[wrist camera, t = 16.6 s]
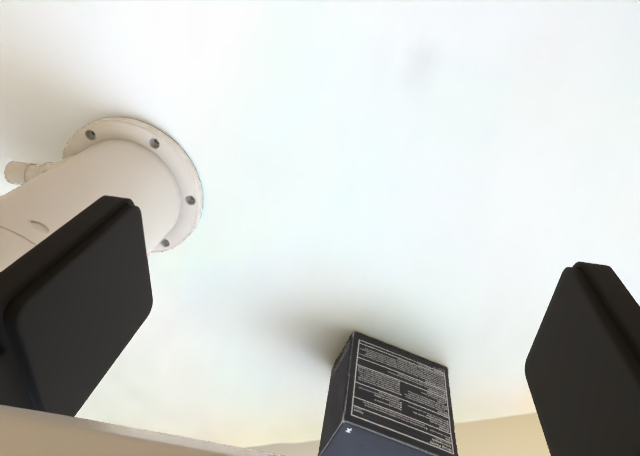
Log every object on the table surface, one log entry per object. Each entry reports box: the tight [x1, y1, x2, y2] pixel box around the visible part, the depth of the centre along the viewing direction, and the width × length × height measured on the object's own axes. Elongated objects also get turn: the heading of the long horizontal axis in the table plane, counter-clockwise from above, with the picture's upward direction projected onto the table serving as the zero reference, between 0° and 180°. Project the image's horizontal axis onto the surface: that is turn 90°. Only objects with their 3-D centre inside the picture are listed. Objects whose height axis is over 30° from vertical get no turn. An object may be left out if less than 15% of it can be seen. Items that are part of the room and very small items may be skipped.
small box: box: [318, 332, 458, 456], centre depth 42 cm, size 11×6×10 cm, turn 69°
